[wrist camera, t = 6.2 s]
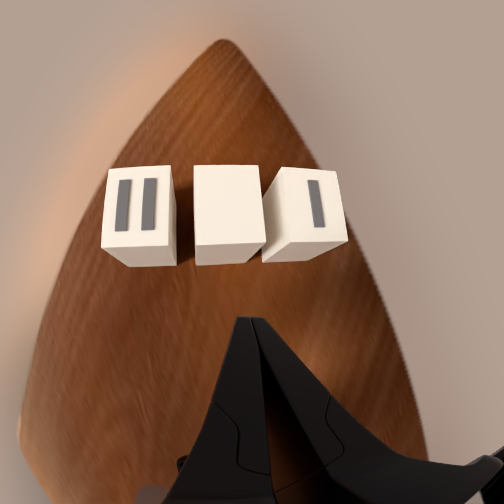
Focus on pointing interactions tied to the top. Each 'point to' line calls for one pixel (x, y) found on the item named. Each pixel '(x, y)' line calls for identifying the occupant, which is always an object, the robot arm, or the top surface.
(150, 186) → the marked block two
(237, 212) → the plain block
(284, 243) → the marked block one
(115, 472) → the top surface
